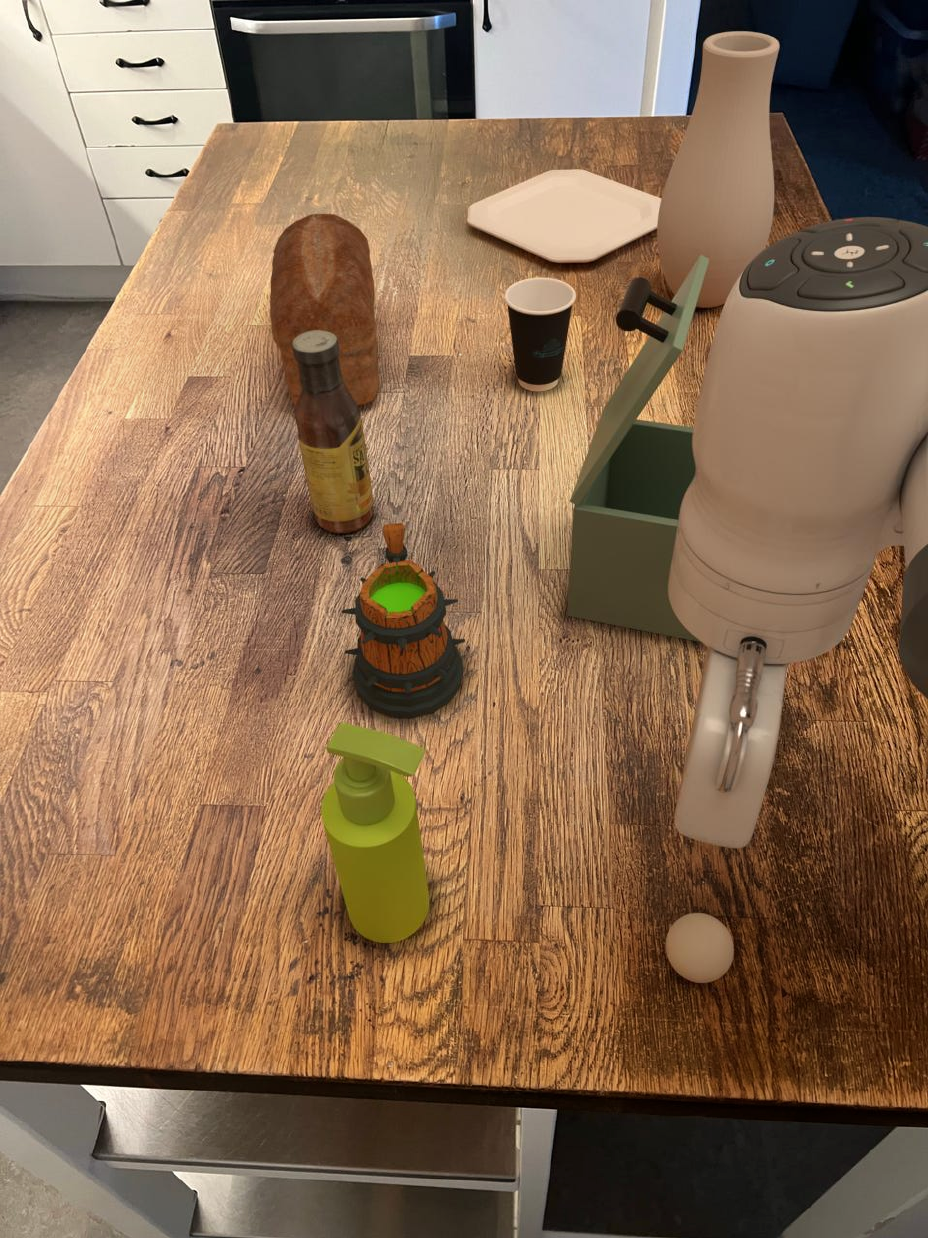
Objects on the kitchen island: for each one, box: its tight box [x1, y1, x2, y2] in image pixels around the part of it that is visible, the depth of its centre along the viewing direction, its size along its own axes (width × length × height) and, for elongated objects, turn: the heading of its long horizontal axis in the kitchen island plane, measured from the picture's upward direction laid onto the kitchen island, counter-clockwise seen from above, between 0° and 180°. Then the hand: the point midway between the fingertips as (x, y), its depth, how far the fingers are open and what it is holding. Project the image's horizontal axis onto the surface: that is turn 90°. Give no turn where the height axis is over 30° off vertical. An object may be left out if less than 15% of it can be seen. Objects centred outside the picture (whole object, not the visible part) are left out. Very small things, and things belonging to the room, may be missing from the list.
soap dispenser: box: [320, 721, 431, 944], centre depth 62 cm, size 6×7×20 cm
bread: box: [269, 213, 380, 407], centre depth 115 cm, size 12×28×14 cm, turn 7°
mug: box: [341, 522, 466, 719], centre depth 80 cm, size 13×10×12 cm
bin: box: [566, 418, 702, 643], centre depth 86 cm, size 16×14×13 cm
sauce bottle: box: [292, 330, 374, 534], centre depth 91 cm, size 7×6×20 cm
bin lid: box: [569, 255, 709, 506], centre depth 76 cm, size 17×14×5 cm
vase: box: [656, 30, 780, 309], centre depth 115 cm, size 14×14×30 cm
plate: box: [466, 168, 662, 264], centre depth 141 cm, size 25×25×2 cm
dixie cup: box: [504, 277, 577, 392], centre depth 110 cm, size 8×8×11 cm
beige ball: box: [665, 912, 735, 984], centre depth 64 cm, size 4×4×4 cm
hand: (720, 744), depth 56 cm, fingers open, 8 cm apart
